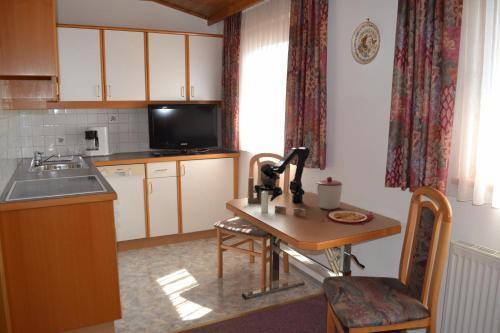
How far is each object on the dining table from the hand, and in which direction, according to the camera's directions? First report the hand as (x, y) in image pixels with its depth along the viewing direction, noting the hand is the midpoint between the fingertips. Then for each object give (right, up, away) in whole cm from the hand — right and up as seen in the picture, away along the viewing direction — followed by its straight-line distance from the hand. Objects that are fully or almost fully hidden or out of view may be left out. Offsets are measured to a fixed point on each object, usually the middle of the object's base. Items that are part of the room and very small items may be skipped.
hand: (264, 200), depth 262 cm
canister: (+44, -6, +11) cm, 45 cm away
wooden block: (-5, -4, +27) cm, 28 cm away
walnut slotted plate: (+16, -8, -6) cm, 19 cm away
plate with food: (+50, -11, -16) cm, 53 cm away
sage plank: (0, -7, +2) cm, 7 cm away
